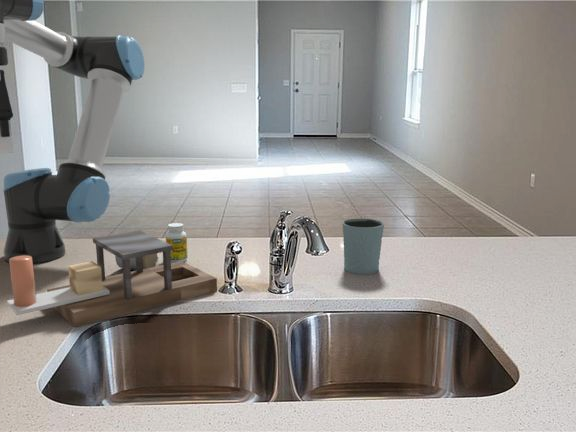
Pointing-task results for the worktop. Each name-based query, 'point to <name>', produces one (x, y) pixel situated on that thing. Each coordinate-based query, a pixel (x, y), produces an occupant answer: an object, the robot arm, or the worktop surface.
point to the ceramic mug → (147, 259)
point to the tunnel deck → (137, 280)
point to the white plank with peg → (27, 297)
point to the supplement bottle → (177, 242)
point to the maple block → (85, 278)
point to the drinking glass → (362, 245)
